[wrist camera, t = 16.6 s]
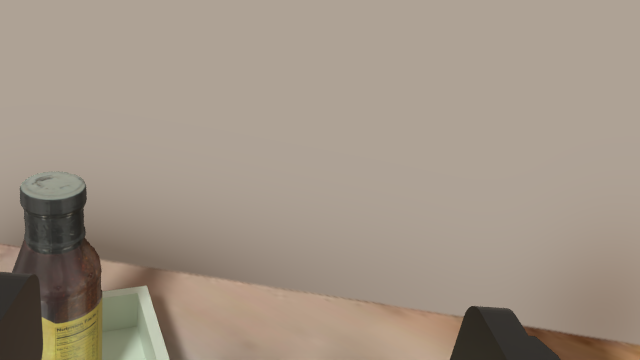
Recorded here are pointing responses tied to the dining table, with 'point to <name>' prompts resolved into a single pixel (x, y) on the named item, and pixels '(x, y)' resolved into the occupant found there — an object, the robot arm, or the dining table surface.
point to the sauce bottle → (62, 266)
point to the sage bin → (130, 326)
